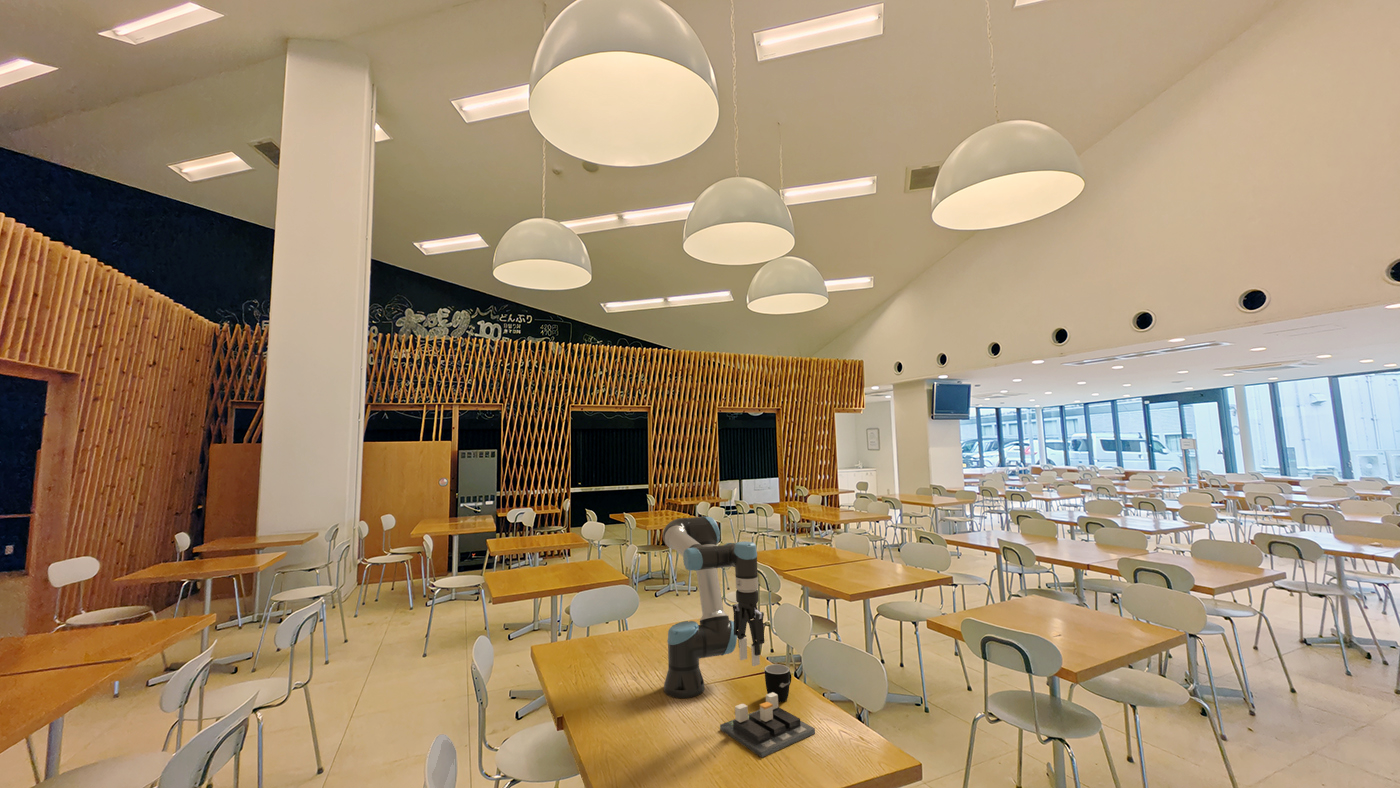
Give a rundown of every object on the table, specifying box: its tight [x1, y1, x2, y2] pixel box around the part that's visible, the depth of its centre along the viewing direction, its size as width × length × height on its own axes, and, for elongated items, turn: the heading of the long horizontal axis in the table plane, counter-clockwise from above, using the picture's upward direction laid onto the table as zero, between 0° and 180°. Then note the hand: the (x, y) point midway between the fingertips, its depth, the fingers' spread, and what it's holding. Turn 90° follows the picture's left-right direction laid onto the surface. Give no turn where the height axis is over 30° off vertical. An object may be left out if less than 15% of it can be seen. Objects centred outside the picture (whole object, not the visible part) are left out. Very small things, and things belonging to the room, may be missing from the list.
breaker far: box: [765, 692, 779, 709], centre depth 176 cm, size 2×3×4 cm
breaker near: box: [734, 703, 749, 722], centre depth 168 cm, size 2×3×4 cm
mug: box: [764, 663, 792, 703], centre depth 192 cm, size 12×9×10 cm
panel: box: [719, 706, 816, 759], centre depth 168 cm, size 20×22×4 cm
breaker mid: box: [759, 701, 773, 722], centre depth 168 cm, size 2×3×4 cm
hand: (749, 661), depth 176 cm, fingers open, 6 cm apart
